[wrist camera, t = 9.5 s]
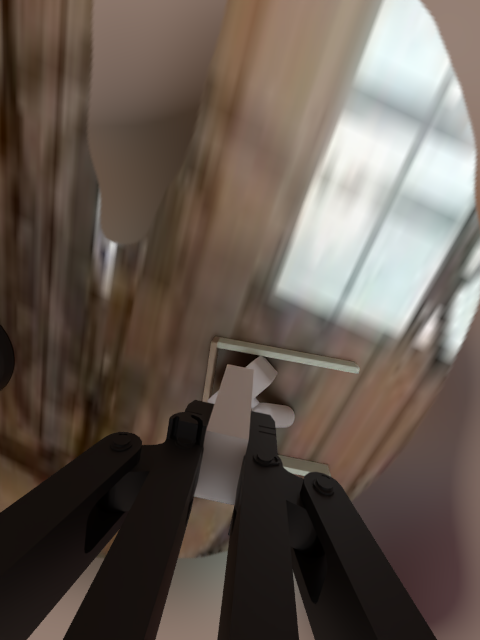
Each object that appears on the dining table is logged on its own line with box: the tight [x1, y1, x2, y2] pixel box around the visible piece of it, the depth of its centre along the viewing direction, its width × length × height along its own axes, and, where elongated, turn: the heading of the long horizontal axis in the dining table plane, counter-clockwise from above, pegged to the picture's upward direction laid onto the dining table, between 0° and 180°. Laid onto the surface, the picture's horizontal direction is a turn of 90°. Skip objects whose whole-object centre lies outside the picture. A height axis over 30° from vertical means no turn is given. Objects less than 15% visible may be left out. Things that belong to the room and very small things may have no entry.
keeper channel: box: [203, 336, 360, 476], centre depth 44 cm, size 20×18×3 cm
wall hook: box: [207, 356, 295, 428], centre depth 41 cm, size 8×10×10 cm
